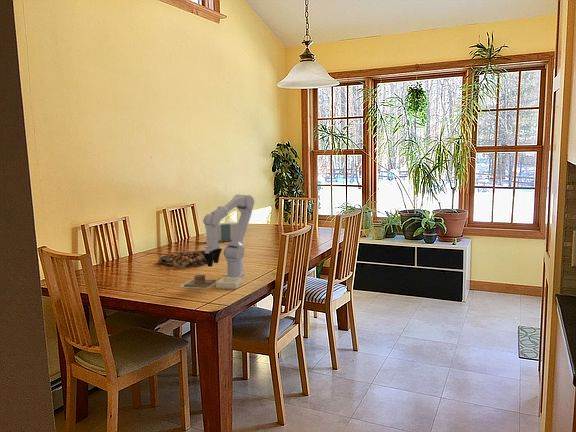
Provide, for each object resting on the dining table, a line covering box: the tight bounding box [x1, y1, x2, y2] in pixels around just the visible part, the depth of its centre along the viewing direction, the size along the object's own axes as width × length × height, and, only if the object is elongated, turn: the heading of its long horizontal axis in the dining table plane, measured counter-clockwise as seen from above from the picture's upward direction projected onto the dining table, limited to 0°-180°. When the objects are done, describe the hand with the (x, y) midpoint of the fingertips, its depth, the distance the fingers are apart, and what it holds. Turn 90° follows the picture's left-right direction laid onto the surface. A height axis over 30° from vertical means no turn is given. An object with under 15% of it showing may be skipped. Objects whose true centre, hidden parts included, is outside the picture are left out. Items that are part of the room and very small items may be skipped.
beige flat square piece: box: [178, 278, 218, 290], centre depth 243 cm, size 14×15×1 cm
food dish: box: [158, 249, 207, 269], centre depth 293 cm, size 35×33×8 cm
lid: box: [184, 273, 217, 288], centre depth 242 cm, size 12×12×4 cm
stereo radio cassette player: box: [217, 213, 238, 243], centre depth 359 cm, size 21×8×20 cm, turn 113°
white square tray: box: [215, 276, 243, 290], centre depth 239 cm, size 10×10×3 cm
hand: (213, 264), depth 244 cm, fingers open, 7 cm apart
